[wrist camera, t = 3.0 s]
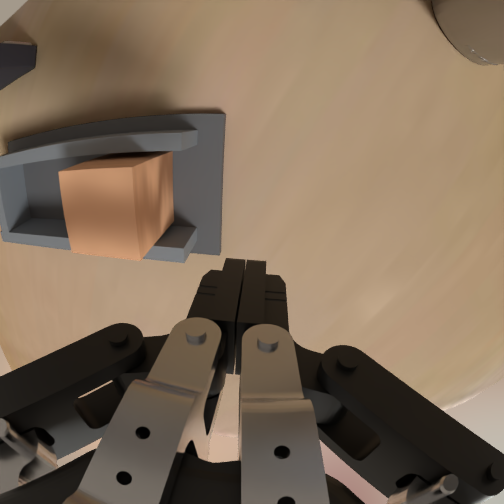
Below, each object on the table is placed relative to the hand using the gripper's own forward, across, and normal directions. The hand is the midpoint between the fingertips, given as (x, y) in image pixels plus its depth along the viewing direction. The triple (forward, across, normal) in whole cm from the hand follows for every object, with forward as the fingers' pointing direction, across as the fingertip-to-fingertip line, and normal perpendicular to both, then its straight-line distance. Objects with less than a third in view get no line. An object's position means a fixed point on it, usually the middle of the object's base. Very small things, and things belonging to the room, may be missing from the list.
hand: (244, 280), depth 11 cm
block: (+12, +10, 0) cm, 16 cm away
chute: (+13, +16, 0) cm, 21 cm away
